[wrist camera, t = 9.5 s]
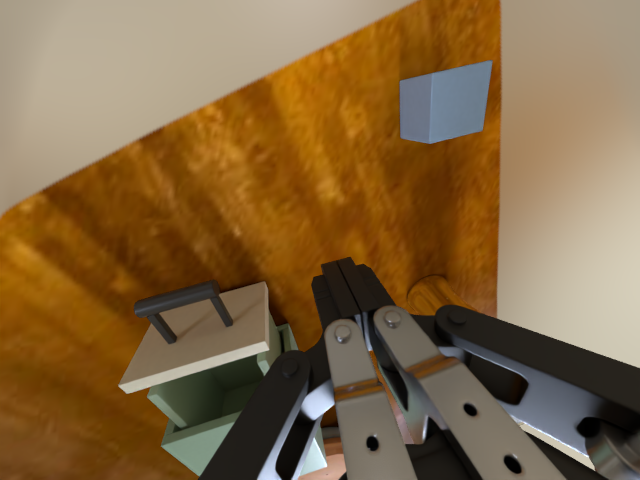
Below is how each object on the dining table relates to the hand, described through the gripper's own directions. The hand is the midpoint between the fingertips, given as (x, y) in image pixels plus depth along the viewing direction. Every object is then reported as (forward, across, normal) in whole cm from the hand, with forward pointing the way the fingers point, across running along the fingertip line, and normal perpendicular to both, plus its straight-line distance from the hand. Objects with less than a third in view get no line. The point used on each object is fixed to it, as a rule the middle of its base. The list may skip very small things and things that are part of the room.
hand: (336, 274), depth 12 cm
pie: (+13, +7, +51) cm, 53 cm away
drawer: (+12, +11, +13) cm, 21 cm away
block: (+13, -12, -6) cm, 19 cm away
